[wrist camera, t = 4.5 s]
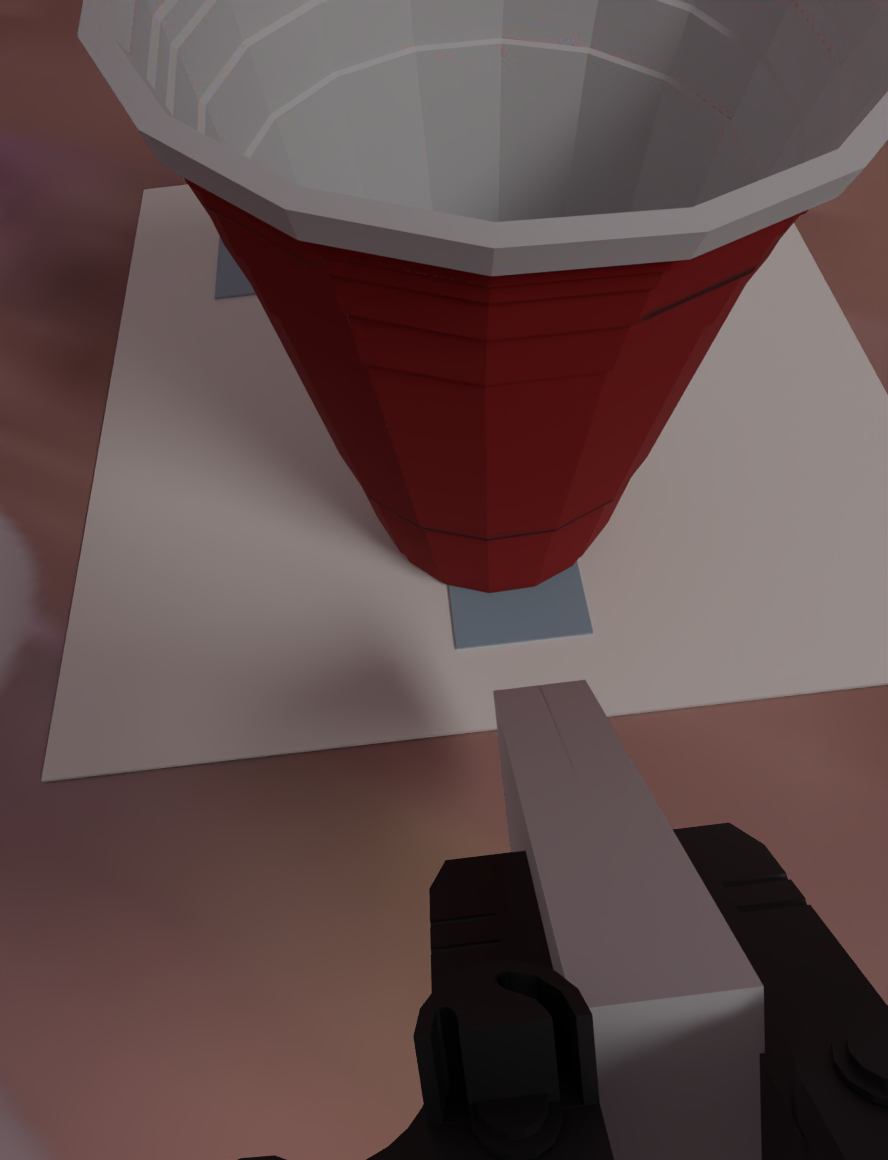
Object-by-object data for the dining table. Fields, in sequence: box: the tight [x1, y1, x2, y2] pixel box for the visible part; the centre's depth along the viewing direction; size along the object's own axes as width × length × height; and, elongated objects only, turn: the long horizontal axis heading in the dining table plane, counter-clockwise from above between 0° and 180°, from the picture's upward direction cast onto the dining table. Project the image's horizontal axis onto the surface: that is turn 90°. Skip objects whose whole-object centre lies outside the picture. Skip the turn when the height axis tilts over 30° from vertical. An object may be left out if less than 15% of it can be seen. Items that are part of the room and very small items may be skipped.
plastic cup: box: [77, 0, 888, 593], centre depth 15 cm, size 11×11×12 cm
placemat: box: [41, 185, 888, 782], centre depth 22 cm, size 22×22×1 cm
